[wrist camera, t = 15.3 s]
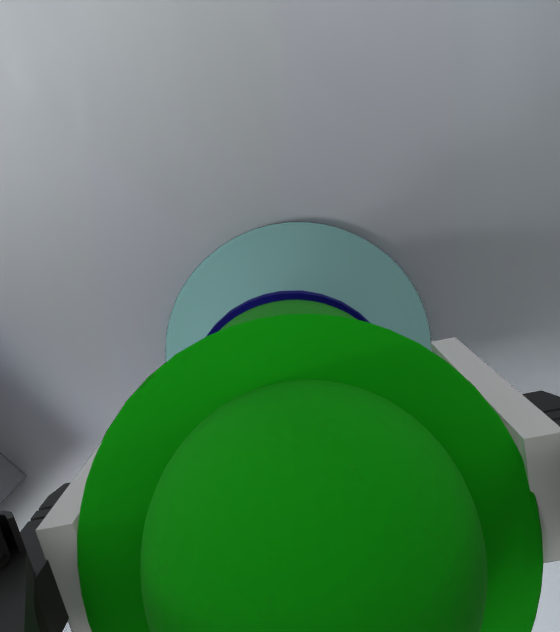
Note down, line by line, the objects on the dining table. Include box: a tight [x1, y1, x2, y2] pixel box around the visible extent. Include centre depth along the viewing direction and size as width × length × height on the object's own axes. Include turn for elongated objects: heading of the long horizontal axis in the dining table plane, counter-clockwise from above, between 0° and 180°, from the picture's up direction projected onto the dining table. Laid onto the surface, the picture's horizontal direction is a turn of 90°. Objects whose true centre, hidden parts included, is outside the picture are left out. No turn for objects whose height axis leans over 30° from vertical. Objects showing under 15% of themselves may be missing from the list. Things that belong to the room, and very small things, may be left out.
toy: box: [77, 290, 543, 632], centre depth 14 cm, size 9×9×15 cm
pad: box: [165, 222, 431, 362], centre depth 22 cm, size 11×11×1 cm
